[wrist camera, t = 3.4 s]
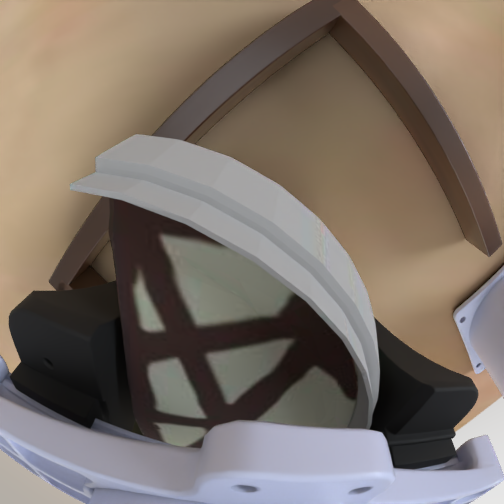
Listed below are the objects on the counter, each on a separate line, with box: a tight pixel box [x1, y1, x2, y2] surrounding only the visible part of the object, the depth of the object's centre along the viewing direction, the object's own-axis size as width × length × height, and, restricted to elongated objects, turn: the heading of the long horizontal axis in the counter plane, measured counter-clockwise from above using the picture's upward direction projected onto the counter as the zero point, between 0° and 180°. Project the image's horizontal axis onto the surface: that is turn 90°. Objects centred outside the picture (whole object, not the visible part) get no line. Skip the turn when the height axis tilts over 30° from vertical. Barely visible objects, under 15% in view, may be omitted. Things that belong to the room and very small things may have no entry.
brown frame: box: [49, 0, 502, 291], centre depth 13 cm, size 15×20×2 cm
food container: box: [70, 134, 380, 448], centre depth 10 cm, size 12×6×10 cm, turn 172°
